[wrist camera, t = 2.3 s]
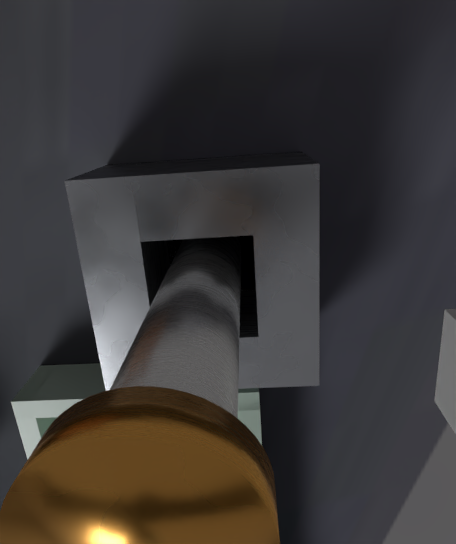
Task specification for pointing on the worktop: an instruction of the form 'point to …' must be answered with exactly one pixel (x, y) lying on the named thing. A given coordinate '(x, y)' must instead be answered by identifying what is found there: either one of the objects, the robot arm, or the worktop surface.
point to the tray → (79, 385)
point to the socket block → (206, 224)
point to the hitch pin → (158, 432)
